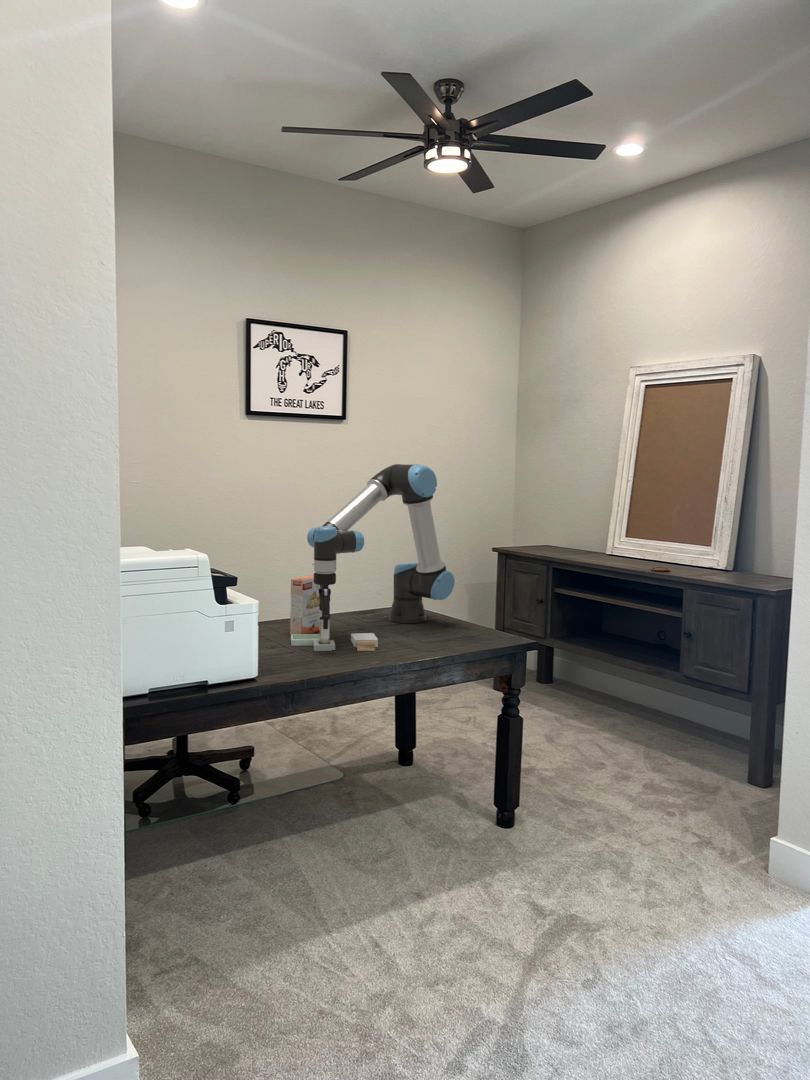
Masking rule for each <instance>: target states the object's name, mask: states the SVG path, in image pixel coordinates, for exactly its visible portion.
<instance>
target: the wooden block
mask: <svg viewBox="0 0 810 1080" xmlns="http://www.w3.org/2000/svg"><path fill="white" fill-rule="evenodd" d="M356 648H357V649H356ZM356 648H355V649H356V650H357V652H371V651H372V652H373V651H376V647H375V642H374V641H356Z"/></svg>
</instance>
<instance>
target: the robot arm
mask: <svg viewBox="0 0 810 1080" xmlns="http://www.w3.org/2000/svg"><path fill="white" fill-rule="evenodd" d="M437 479H438V478H437V476H436V474H435V472H434V470H433V469H431V468H430V467H429V466H427V465H423V464H401V463H400V464H399V463H397V464H392V465H389V466H386V467H385V468H383V469H382V470H380V471H379V472H377V473H376V474H375V475H374V476H372V477H371V478H370V479H369V480H367V482H366V486H365V487H364V488H363V489H361V491H359V492H358V493H357V494H356V495H355V496H354V497H352V499H351V500H349V501H348V502H347V503H346V504H344V506H343V507H342V508H341V509H340V510H338V511H337V512H336V513H335V514H334V515H333V516H331V518H329V519H328V520H327V521H326V522H325V523H324V524H322V525H321V526H316V527H312V528H310V529H309V530H308V532H307V536H306V541H307V543H308V545H309V546H310V547H312V548H313V561H314V562H312V563H311V565H312V566H313V571H314V573H313V575H314V583H315V584H317V585H320V589H319V598H320V603H319V609H320V610H321V611H319V630H320V622H321V639H329V640H330V624H331V623H330V620H331V619H330V618H331V612H330V611H331V609H330V603H331V595H332V594H331V592H332V590H331V588H329V587H330V586H333V585H335V584H336V583H337V573H336V571H337V554H350V553H353V554H354V553H358V552H360V551H361V550H362V549H363V548H364V546H365V537H364V535H363V533H362V532H361V531H359V530H353V529H352V530H350V529H351V528H352V527H354V525H355V524H357V522H359V521H360V520H361V519H362V518H364V516H365V515H366V514H367V513H368V512H370V511H371V510H372V509H373V508H374V507H375V506H377V505H378V504H379V502H380V501H381V502H383V501H384V502H385V501H386V500H387V499H388V498H390V497H391V496H395V495H397V496H401V499H402V504H403V505H405V506H407V509H408V514H409V519H410V524H411V525H410V526H411V529H412V535H413V540H414V541H413V542H414V545H415V551H416V556H417V562H410V563H409V562H408V563H399V564H396V565H394V570H393V599H392V600H393V601H392V604H391V607H390V610H389V614H388V620H389V621H390V622H394V623H401V624H418V623H424V622H426V621H427V613H426V610H425V606H424V603H423V598H425V599H431V600H433V601H436V600H437V601H443V600H446V599H448V597H450V595H451V594H452V593H453V590H454V587H455V583H456V582H455V576H454V574H453V573H452V572H451V571H450V570H447V566H446V562H444V561H443V560H442V559H441V555H440V549H439V545H438V544H439V543H438V538H437V533H436V532H437V531H436V527H435V522H434V517H433V510H432V507H431V501H432V500H433V499H434V494H435V493H436V490H437V489H436V488H437V487H438V480H437Z"/></svg>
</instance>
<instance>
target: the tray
mask: <svg viewBox="0 0 810 1080" xmlns="http://www.w3.org/2000/svg"><path fill="white" fill-rule="evenodd" d="M314 640H320V633H311V634H290V646H291V647H314V646H313V645H314Z"/></svg>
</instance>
